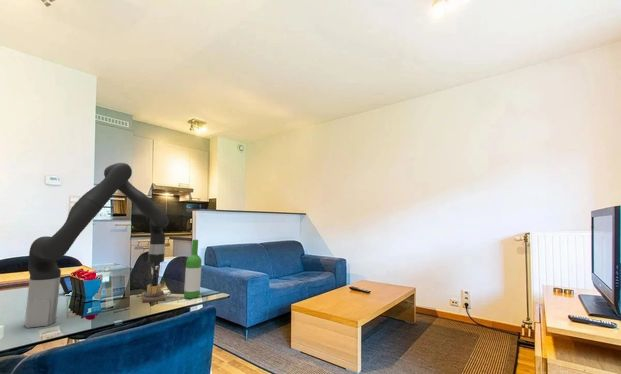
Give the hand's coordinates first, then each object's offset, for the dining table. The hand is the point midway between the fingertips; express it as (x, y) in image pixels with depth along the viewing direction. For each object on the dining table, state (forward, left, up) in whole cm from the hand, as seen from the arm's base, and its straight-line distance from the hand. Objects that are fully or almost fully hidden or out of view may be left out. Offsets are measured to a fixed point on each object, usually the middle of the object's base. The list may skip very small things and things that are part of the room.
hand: (154, 284), depth 160 cm
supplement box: (+7, +28, -7) cm, 30 cm away
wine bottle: (-5, -18, -7) cm, 20 cm away
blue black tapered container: (+26, +34, -7) cm, 43 cm away
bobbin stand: (0, 0, -7) cm, 7 cm away
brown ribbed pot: (0, 0, -4) cm, 4 cm away
